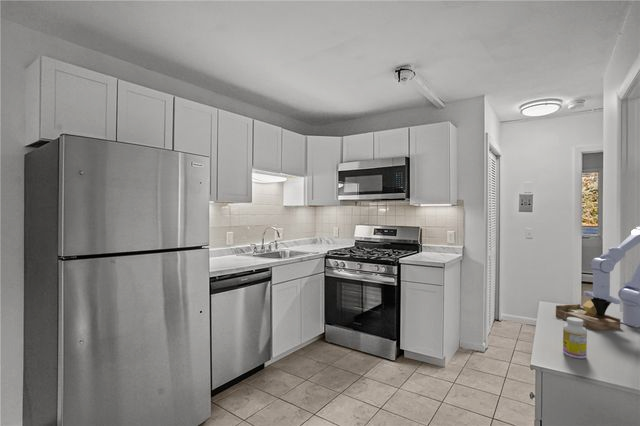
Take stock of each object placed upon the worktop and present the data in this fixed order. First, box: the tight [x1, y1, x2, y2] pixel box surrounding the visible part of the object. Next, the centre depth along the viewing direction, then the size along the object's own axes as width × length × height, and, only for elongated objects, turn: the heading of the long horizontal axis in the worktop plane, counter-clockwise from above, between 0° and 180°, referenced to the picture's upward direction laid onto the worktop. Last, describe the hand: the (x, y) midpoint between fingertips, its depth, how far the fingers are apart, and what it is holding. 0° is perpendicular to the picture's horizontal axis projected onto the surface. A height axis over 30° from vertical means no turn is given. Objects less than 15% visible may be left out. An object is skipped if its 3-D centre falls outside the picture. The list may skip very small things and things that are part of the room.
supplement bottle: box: [562, 317, 588, 360], centre depth 117 cm, size 7×7×13 cm
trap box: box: [555, 303, 621, 331], centre depth 151 cm, size 13×19×5 cm
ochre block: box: [581, 300, 597, 315], centre depth 153 cm, size 4×4×4 cm
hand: (600, 315), depth 148 cm, fingers closed
